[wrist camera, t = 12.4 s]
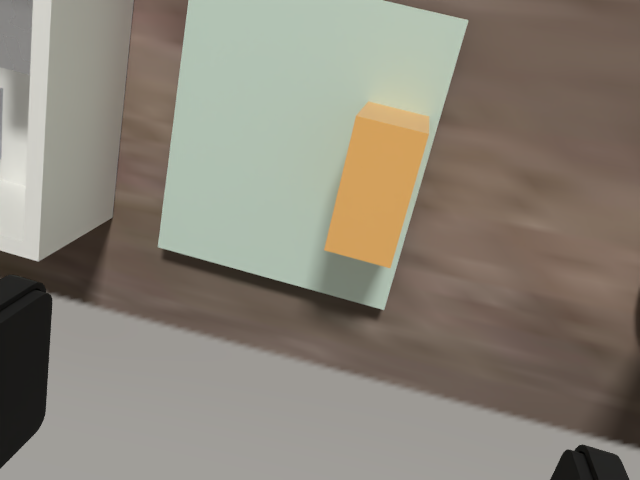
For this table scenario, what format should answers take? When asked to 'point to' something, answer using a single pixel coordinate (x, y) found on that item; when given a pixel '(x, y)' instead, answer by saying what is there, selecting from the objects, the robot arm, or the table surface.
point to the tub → (63, 125)
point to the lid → (305, 137)
